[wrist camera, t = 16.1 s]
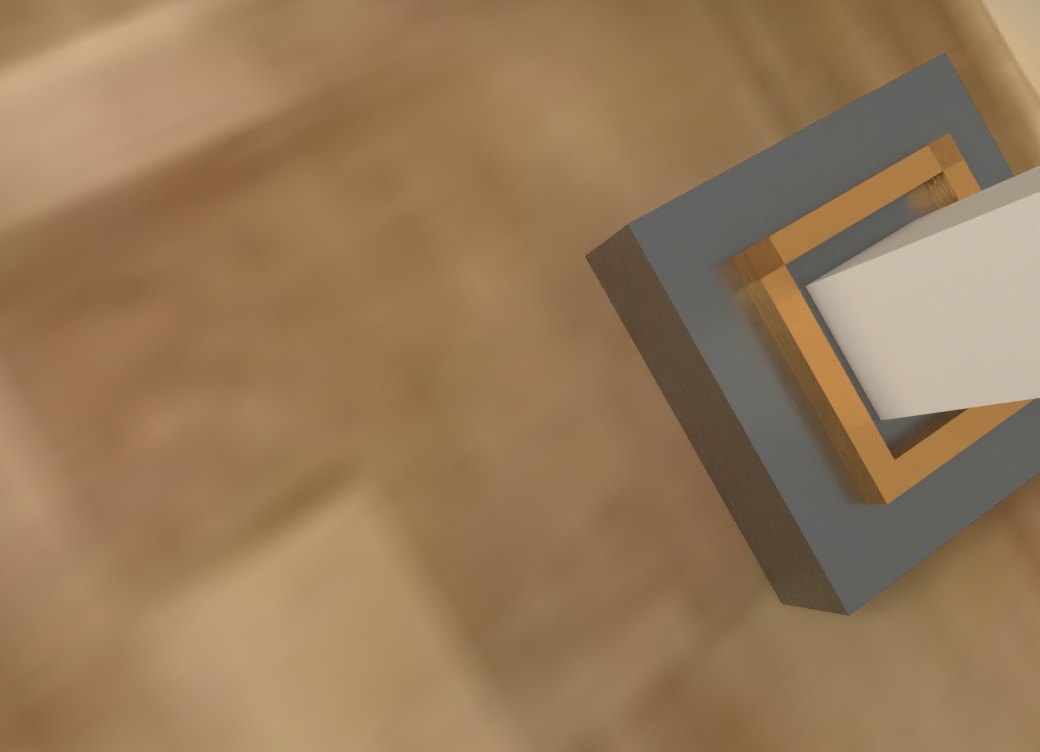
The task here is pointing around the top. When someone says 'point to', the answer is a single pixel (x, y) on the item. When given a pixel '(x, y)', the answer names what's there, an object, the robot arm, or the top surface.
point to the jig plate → (818, 343)
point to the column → (945, 305)
